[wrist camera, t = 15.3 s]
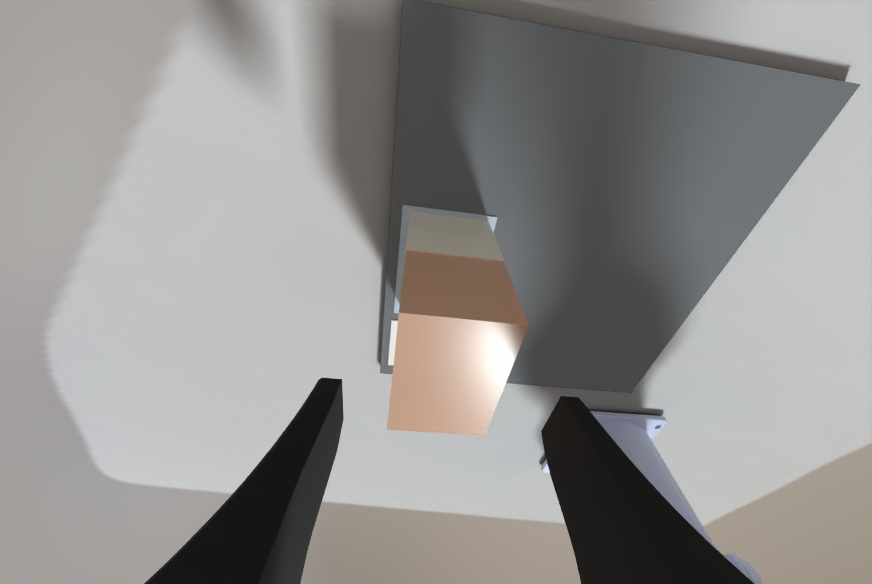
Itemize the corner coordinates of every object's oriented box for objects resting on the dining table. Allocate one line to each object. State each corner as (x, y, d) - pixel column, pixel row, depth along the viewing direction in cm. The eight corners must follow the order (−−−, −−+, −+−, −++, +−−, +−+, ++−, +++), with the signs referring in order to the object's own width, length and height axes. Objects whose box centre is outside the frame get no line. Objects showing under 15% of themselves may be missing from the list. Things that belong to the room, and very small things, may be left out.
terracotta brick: (473, 363, 17) (484, 435, 13) (395, 356, 16) (387, 429, 13) (503, 261, 13) (528, 325, 10) (406, 250, 13) (398, 312, 10)
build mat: (626, 386, 25) (631, 394, 25) (381, 366, 23) (379, 374, 23) (845, 83, 14) (864, 84, 13) (404, 0, 12) (402, -3, 12)
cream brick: (466, 313, 20) (474, 361, 17) (401, 306, 19) (395, 355, 16) (488, 221, 16) (503, 259, 13) (410, 211, 16) (405, 248, 13)
